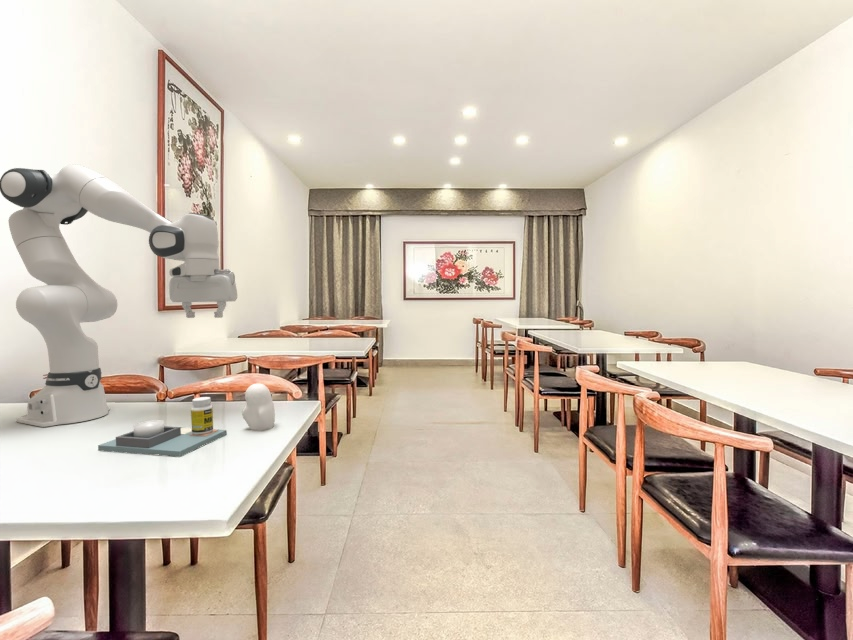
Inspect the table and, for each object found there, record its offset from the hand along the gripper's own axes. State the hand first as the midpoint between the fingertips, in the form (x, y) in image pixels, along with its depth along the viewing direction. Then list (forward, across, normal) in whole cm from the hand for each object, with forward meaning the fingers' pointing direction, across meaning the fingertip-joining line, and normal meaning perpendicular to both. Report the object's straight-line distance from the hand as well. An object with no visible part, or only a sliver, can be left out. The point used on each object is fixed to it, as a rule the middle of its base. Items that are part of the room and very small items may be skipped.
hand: (204, 317), depth 121 cm
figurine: (+29, -22, +7) cm, 37 cm away
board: (+29, -6, +22) cm, 37 cm away
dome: (+28, -4, +24) cm, 37 cm away
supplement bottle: (+28, -12, +17) cm, 35 cm away
